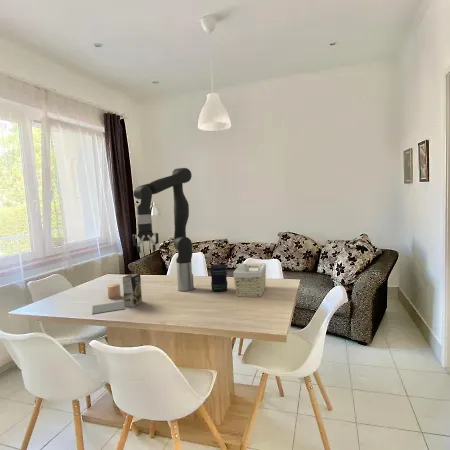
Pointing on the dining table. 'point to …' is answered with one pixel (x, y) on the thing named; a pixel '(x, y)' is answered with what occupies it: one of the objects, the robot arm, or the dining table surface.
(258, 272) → the storage basket
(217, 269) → the storage jar
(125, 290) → the coffee box
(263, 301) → the dining table surface
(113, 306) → the mat
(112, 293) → the peach rounded knob
